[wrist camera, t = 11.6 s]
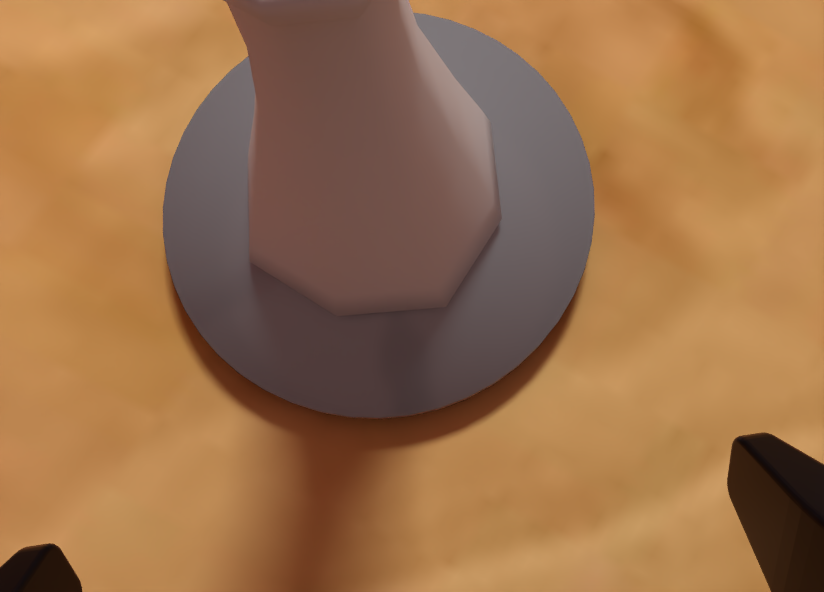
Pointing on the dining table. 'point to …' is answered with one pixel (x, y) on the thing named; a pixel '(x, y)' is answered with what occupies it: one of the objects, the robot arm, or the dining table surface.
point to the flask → (362, 157)
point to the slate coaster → (399, 330)
